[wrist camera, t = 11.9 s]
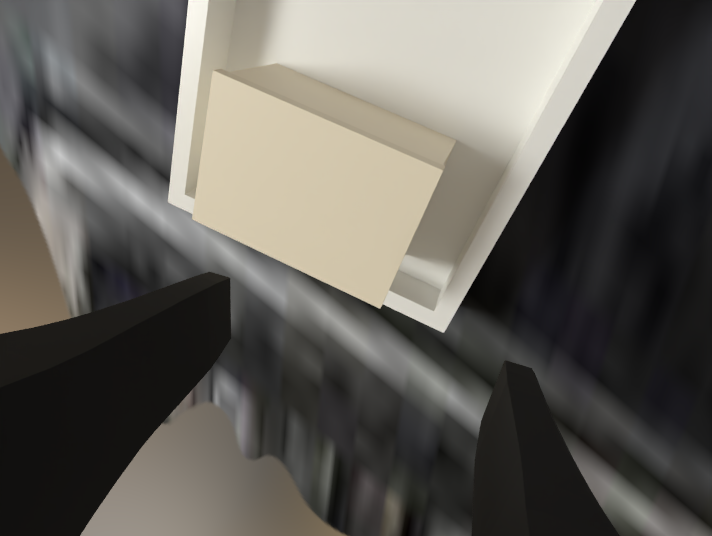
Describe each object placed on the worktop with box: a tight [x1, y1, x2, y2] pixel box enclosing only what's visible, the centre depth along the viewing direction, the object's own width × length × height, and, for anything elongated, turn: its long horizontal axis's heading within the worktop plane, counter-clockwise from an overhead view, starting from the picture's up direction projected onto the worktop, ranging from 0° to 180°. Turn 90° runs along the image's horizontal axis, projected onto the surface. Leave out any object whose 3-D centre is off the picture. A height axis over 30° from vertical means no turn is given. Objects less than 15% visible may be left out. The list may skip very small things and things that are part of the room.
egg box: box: [192, 63, 457, 308], centre depth 18 cm, size 8×6×4 cm
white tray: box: [168, 0, 636, 333], centre depth 17 cm, size 14×18×2 cm
